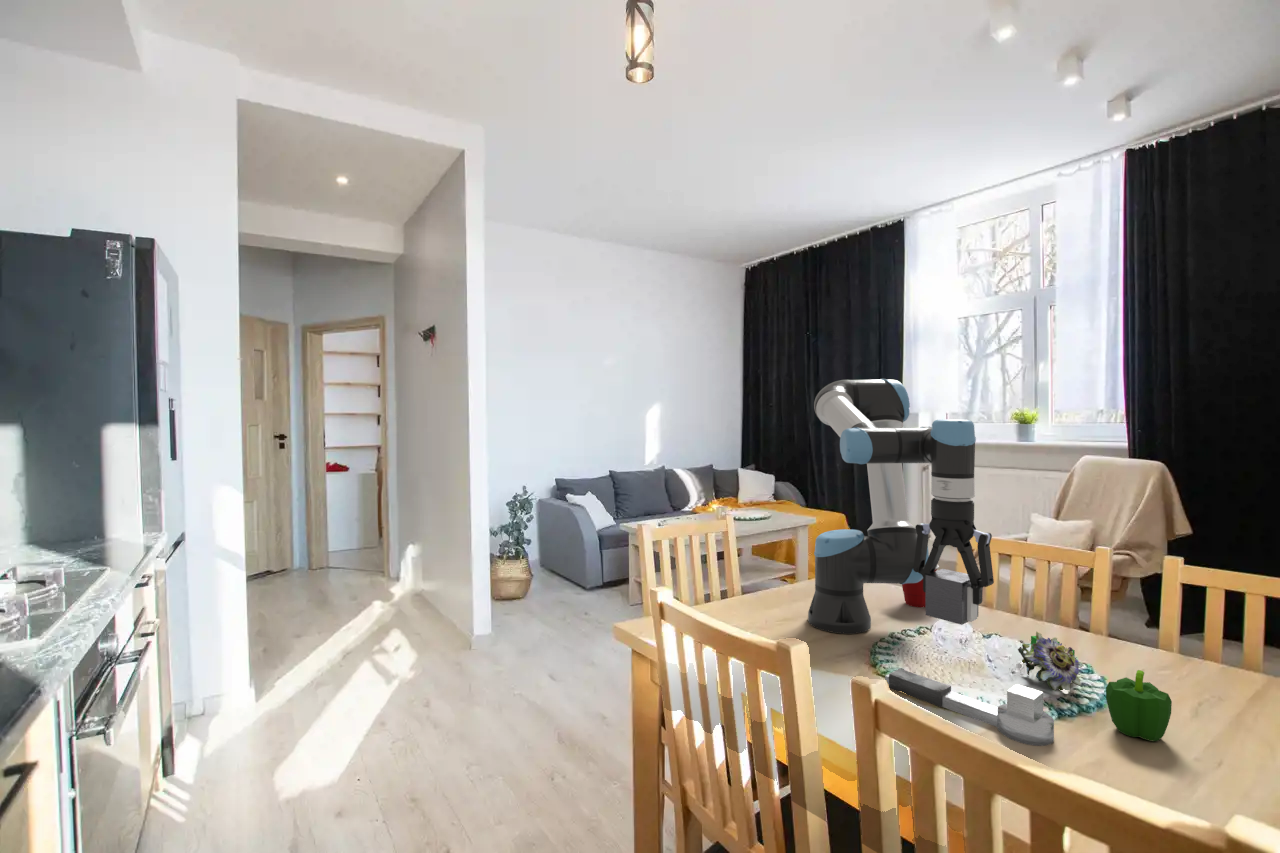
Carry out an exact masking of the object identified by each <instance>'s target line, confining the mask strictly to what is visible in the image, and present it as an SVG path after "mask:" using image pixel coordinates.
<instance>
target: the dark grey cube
mask: <svg viewBox="0 0 1280 853" xmlns="http://www.w3.org/2000/svg"><path fill="white" fill-rule="evenodd" d="M969 586H971V582H970V580H969V577H968V574H967V572H961V571H955V570H951V569H945V568H940V569H937V570H936V571H935V572H932V573H930V574H927V575H926V596H925V607H924V608H925V610H924V611H925V612H924V613H925V616H928V617H930V618H935V619H939V620H943V621H947V622H951V623H953V624H958V625H961V626H962V625H964V624H966V623H968V622H969V621H967V587H969ZM979 605H980V604H979ZM979 605H977V618H978V617H979Z"/></svg>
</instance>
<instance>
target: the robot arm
mask: <svg viewBox="0 0 1280 853" xmlns="http://www.w3.org/2000/svg"><path fill="white" fill-rule="evenodd" d="M910 404H911V403H910V398H909V394H908V392H907V389H906V387H905V386H904V384H903V383H901V381H900V380H897V379H886V378H880V379H841V380H836V381H833V382H831V383H828V384H827V385H825V386H824V387H822V389H820V390H819V392H818V393H817V394H816V396H815V399H814V402H813V409H814V412H815V415H816V417H817V418H818V419H819V421H820V422H821V423H823V424H825V425H826V426H830V427H831V428H832V430H833V431H834V432H835V433H836V434H837V436H838V437H839V452H840V454H841V458H842V460H843V461H844V462H845V463H847V464H858V465H865V464H866V467H867V476H868V477H867V478H868V488H869V497H870V507H871V517H872V518H871V519H872V524H871V525H870V526H869V528H868V529H867V530H866V531H867V535H864V533H863V531H862V530H859V529H853V528H851V529H847V528H846V529H845V528H844V529H834V530H827V531H825V532H822V533H821V534H819V535H817V537H816V538H815V545H814V553H813V555H814V594H813V598H812V600H811V603H810V606H809V609H808V611H807V620H808V621H807V622H808V624H809V625H810V626H812V627H814V628H816V629H818V630H820V631H821V630H822V631H824V632H830V633H836V634H844V635H845V634H847V635H852V634H861V633H864V632H866V631H869V630H870V629H871V627H872V618H871V614H870V612H869V608H868V606H867V602H866V599H865V596H864V584H891V585H892V584H894V585H895V584H899V585H902V584H905V583H917V582H919V581H921V580H922V579H923V591H924V592H926V575H927V574H930V573H932V572H934V571H935V569H936V566H937V565H939V564H938V563H939V561H940V559H941V558H942V554H943V552H944V549H945V548H946V547H947V546H950V547H953V548H956V549H957V552H958V553H959V554H960V557H961V559H962V561H963V566H964V568H965V571H966V574H968V577H969V580H970V582H971V586H969V587H967V621H969V622H970V623H972V622H974V621H976V620H978V617H977V605H980V604H982V602H983V588H987V587H990V586H992V585H993V584H994V582H995V579H994V572H993V571H994V570H993V563H992V556H991V555H992V554H991V547H990V546H991V545H990V544H991V541H992V537H993V535H992V533H991V532H983V531H980V530H977V527H976V526H975V525H976V524H975V522H974V521H975V501H973V500H972V499H974V497H975V496H976V495H975V493H976V492H975V462H976V460H975V459H976V453H975V452H976V441H977V438H976V434H975V433H976V432H975V423H974V422H973V421H972V420H970V419H960V418H959V419H956V418H955V419H954V418H953V419H952V418H951V419H945V418H944V419H935V420H934V421H932V423H931V426H920V427H904V422H906V421H907V420H908V419H909V417H910V407H911V406H910ZM903 464H931V471H930V472H931V474H930V475H931V482H930V483H931V491H930V493H931V496H933V498H932V499H930V515H931V520H930V521H929V523H925V522H922V523H918V524H916V525H913V524H912V523H911V522H910V520H909V513H908V512H909V511H908V503H907V496H906V487H905V479H904V478H905V477H904V470H903ZM931 532H932V533H933V534H932V535H934V537H935V538H934V540H933V542H932V547H931V550H930V552H929V539H930V538H929V536H930V535H929V534H930V533H931ZM973 537H975V542H976V543H977V554H978V555H977V556H978V563H977V561H976V557H975V555H974V552H973V546H972V544H971V541H970V540H972V538H973ZM978 564H979V566H978Z"/></svg>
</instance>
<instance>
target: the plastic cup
mask: <svg viewBox="0 0 1280 853" xmlns="http://www.w3.org/2000/svg"><path fill="white" fill-rule="evenodd" d="M939 568H940V565H939V564H937V566H936V569H935V571H938V570H939ZM935 571H934V572H935ZM901 586H902V587H901V588H902V592H903V596H904V601H905V604H906V605H907V606H909V607H912V608H925V596H926V592H924V591H923V579H922V580H921V581H919V582H917V583H905V584H901Z"/></svg>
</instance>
